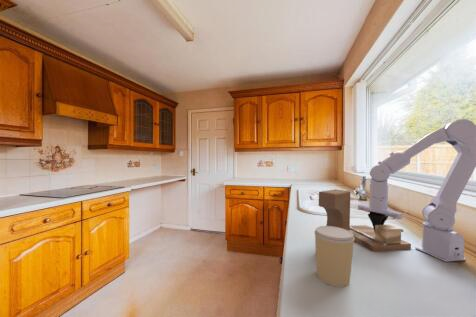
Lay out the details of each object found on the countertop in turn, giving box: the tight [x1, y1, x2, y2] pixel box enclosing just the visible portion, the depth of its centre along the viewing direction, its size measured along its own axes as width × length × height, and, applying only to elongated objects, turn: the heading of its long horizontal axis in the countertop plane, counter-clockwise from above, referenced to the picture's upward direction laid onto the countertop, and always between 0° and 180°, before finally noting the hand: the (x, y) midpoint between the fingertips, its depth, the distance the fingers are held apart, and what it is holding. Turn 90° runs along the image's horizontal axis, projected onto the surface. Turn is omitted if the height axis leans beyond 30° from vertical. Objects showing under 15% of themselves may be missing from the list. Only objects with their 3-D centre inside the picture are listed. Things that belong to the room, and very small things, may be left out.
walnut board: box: [350, 224, 412, 252], centre depth 80 cm, size 20×15×2 cm
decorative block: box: [318, 188, 351, 231], centre depth 69 cm, size 11×6×20 cm, turn 127°
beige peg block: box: [375, 224, 404, 244], centre depth 74 cm, size 5×9×5 cm, turn 100°
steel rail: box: [350, 227, 386, 245], centre depth 80 cm, size 20×1×1 cm, turn 10°
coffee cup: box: [314, 225, 355, 288], centre depth 53 cm, size 9×9×12 cm
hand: (377, 233), depth 78 cm, fingers closed
